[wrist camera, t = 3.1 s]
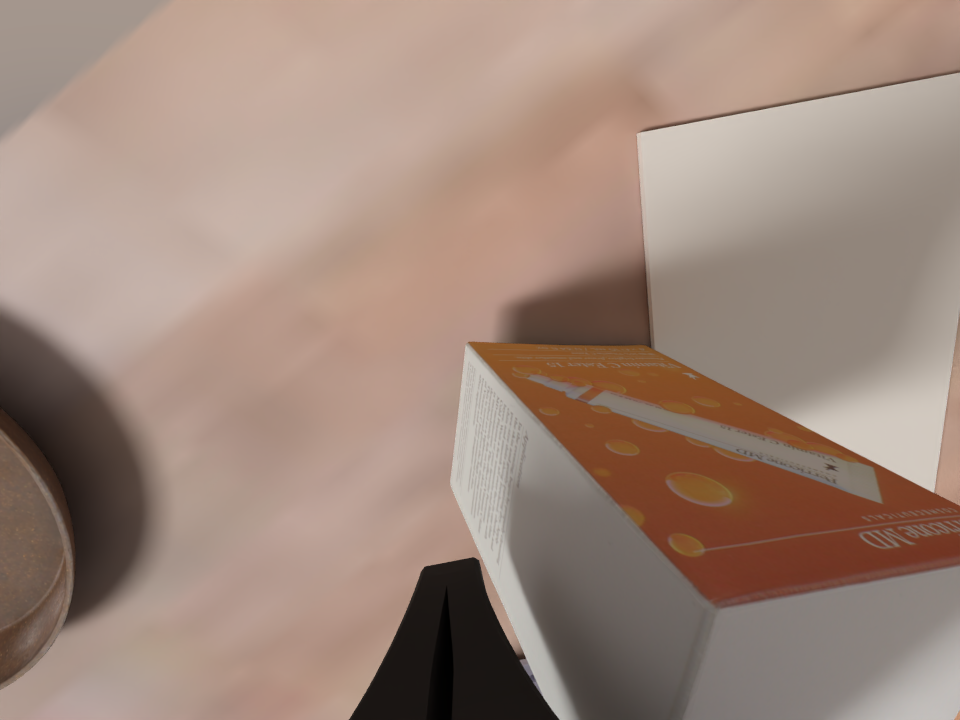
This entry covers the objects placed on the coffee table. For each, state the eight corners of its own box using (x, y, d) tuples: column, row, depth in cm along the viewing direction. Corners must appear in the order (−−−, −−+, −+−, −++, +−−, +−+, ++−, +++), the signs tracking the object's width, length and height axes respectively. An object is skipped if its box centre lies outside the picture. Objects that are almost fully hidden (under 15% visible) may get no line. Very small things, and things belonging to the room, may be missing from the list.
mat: (922, 517, 25) (929, 522, 24) (666, 566, 25) (669, 572, 24) (982, 68, 18) (994, 66, 18) (636, 133, 18) (640, 132, 18)
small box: (645, 341, 21) (1061, 546, 9) (615, 473, 23) (928, 779, 11) (460, 336, 18) (719, 614, 7) (444, 485, 20) (622, 900, 9)
